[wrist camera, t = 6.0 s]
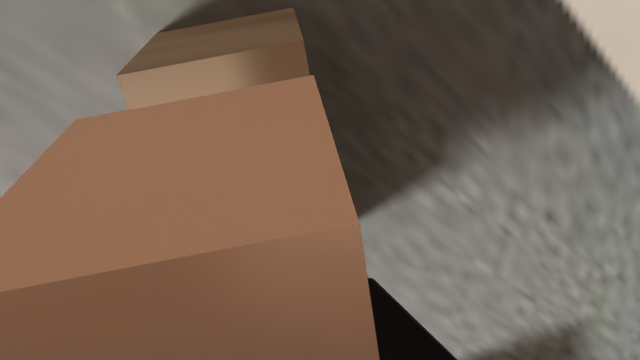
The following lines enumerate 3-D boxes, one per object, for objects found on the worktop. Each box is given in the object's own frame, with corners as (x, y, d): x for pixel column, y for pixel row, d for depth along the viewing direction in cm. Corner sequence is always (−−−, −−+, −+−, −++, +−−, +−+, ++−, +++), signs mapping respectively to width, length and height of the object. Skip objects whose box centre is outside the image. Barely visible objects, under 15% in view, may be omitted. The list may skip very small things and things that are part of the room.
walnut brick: (334, 229, 18) (352, 316, 14) (227, 250, 18) (217, 343, 14) (293, 6, 14) (303, 40, 10) (158, 32, 14) (115, 75, 10)
